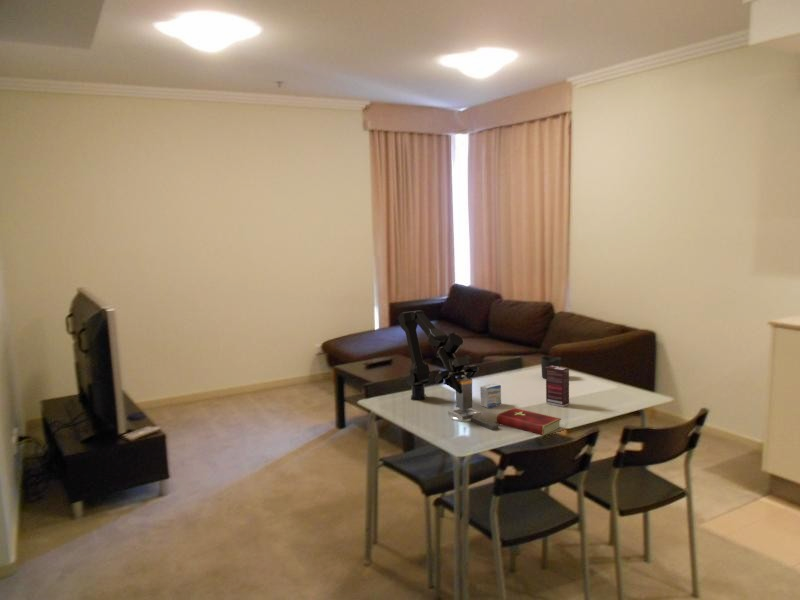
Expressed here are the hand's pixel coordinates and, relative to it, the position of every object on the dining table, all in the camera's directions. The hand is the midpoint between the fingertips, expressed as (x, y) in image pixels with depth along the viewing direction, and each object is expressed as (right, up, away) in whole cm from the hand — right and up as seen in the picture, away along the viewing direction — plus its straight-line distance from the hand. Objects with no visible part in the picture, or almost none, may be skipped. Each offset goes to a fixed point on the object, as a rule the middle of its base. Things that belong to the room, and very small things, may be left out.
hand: (466, 392), depth 241 cm
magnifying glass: (+3, -11, -3) cm, 12 cm away
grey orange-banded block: (0, -6, +2) cm, 7 cm away
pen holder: (+48, -2, +59) cm, 76 cm away
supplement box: (+40, -8, +15) cm, 44 cm away
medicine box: (+12, -8, +17) cm, 22 cm away
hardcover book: (+23, -12, -10) cm, 27 cm away
